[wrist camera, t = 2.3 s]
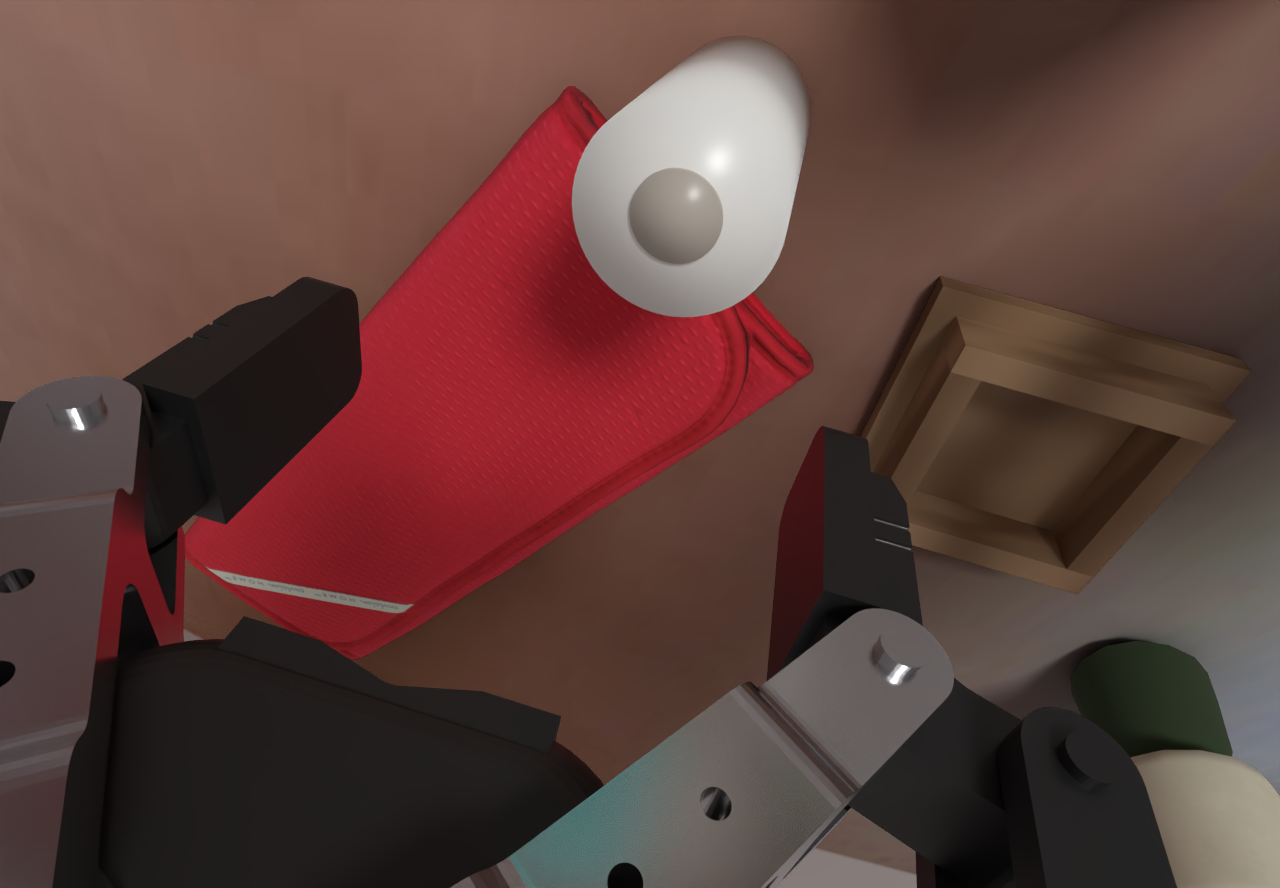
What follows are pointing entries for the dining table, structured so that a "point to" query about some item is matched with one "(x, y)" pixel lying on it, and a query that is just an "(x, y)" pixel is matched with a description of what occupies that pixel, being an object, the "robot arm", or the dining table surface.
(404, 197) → the dining table surface
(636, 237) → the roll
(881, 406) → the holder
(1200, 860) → the character mug
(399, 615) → the red folded cloth
